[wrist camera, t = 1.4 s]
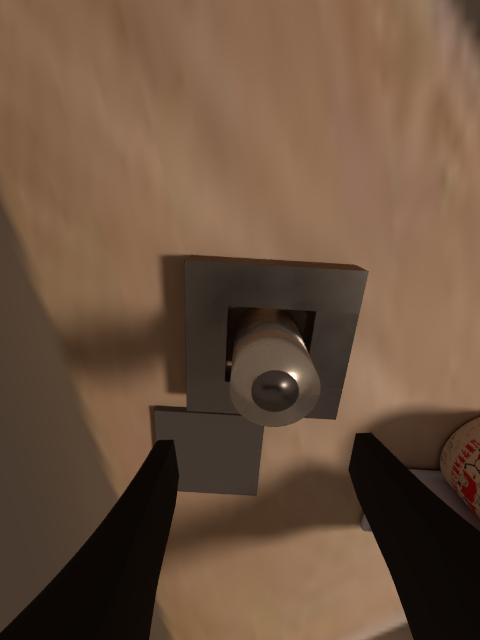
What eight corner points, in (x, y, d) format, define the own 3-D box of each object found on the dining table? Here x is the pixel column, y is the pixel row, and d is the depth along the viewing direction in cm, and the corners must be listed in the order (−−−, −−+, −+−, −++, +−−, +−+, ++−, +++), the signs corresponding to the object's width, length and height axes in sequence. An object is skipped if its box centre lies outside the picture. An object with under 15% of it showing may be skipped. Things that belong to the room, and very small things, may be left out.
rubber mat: (264, 412, 23) (264, 417, 23) (256, 489, 27) (256, 495, 26) (156, 405, 23) (153, 410, 23) (161, 484, 27) (159, 490, 26)
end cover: (301, 307, 20) (328, 354, 13) (293, 363, 22) (313, 431, 15) (236, 303, 20) (231, 348, 13) (233, 360, 22) (227, 426, 15)
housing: (355, 264, 19) (368, 271, 17) (327, 400, 23) (335, 419, 21) (191, 255, 19) (184, 260, 17) (192, 392, 23) (186, 410, 21)
